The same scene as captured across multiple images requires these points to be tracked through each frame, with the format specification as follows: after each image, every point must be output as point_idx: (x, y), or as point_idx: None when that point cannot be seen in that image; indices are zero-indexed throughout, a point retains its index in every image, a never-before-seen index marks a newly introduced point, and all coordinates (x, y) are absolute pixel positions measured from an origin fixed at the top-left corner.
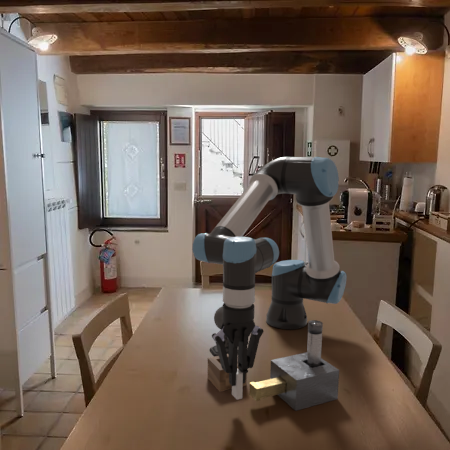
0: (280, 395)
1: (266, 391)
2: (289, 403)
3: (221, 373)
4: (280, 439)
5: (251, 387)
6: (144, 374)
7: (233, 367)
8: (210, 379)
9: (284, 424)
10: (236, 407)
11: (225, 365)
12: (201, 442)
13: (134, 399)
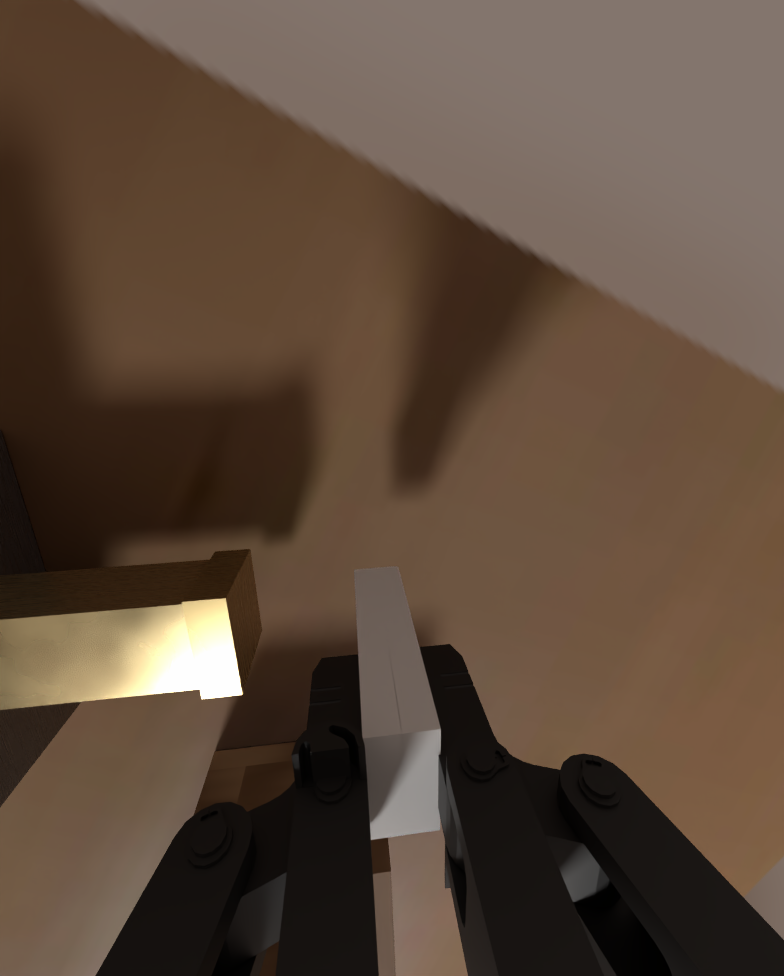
0: None
1: (139, 586)
2: (12, 503)
3: (376, 843)
4: (240, 171)
5: (244, 650)
6: None
7: (533, 835)
8: None
9: (142, 319)
10: None
11: (713, 890)
12: (669, 359)
13: (737, 762)
